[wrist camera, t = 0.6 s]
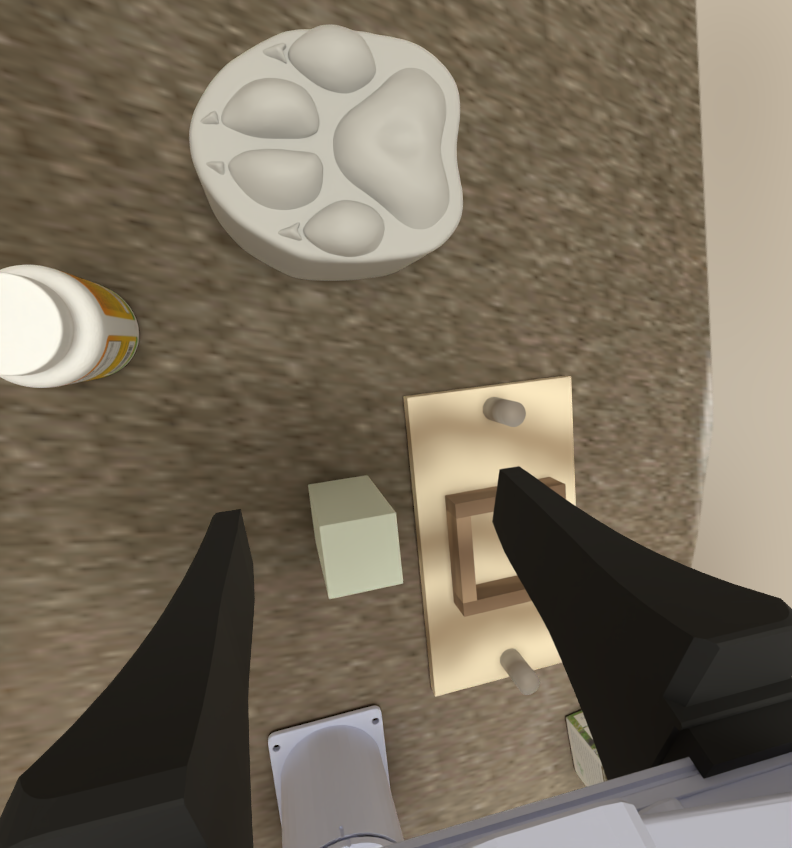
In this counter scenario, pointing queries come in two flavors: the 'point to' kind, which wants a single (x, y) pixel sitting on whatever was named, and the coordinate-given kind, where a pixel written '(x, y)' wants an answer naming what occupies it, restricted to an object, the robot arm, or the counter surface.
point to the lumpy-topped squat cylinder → (331, 152)
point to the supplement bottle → (61, 328)
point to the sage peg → (355, 536)
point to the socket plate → (482, 524)
